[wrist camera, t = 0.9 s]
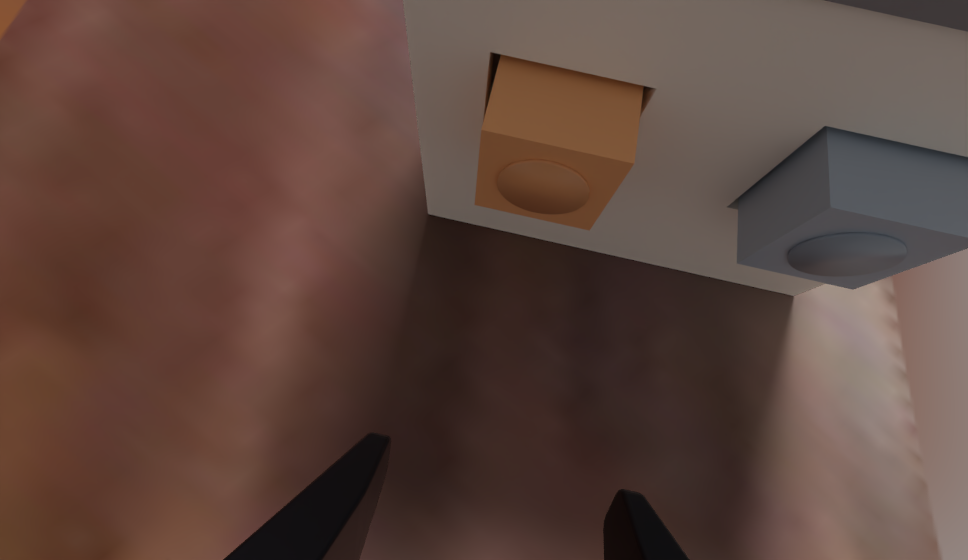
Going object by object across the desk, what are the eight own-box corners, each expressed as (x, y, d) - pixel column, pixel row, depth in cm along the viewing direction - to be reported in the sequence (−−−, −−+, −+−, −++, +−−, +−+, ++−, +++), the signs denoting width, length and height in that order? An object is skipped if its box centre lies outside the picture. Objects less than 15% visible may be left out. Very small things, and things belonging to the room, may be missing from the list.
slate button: (852, 293, 17) (986, 246, 12) (736, 267, 17) (830, 212, 12) (847, 198, 18) (965, 128, 14) (739, 174, 18) (825, 97, 14)
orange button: (588, 234, 17) (634, 168, 13) (473, 208, 17) (480, 133, 13) (602, 144, 18) (647, 58, 14) (495, 121, 18) (508, 27, 14)
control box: (798, 300, 24) (1379, 77, 9) (423, 216, 24) (373, -141, 9) (795, 167, 27) (1234, -174, 12) (459, 93, 27) (466, -337, 12)
